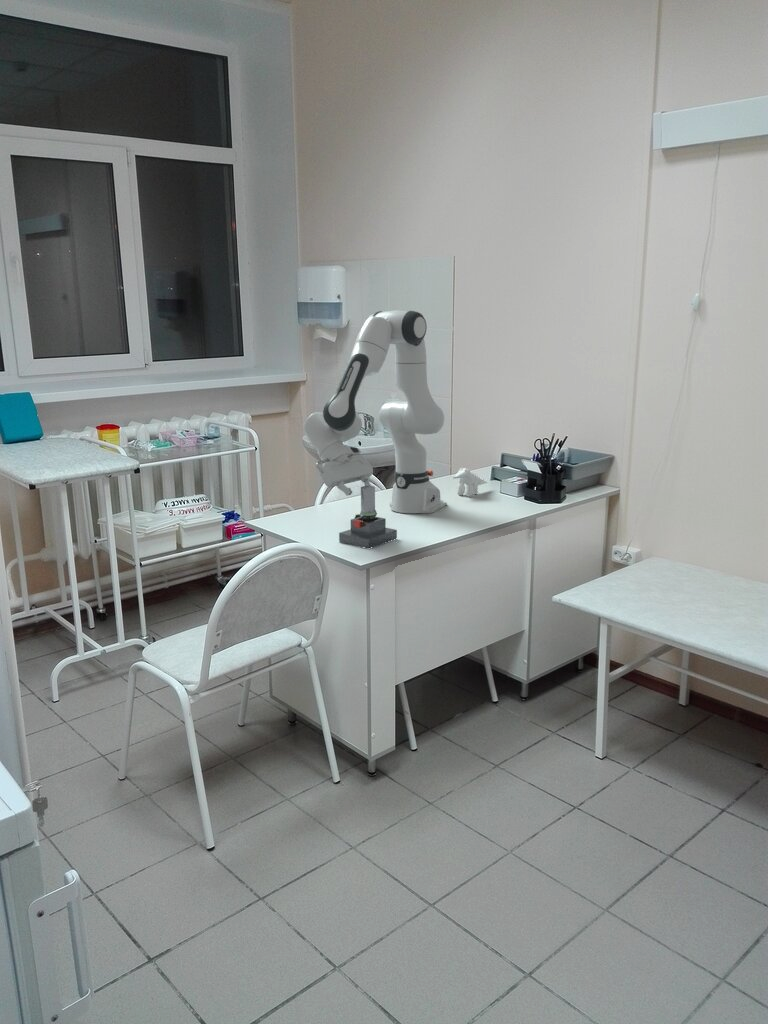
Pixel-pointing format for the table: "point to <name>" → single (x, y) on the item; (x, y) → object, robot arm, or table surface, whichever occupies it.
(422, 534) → the table surface
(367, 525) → the stand base
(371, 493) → the column
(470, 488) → the dinosaur statue
